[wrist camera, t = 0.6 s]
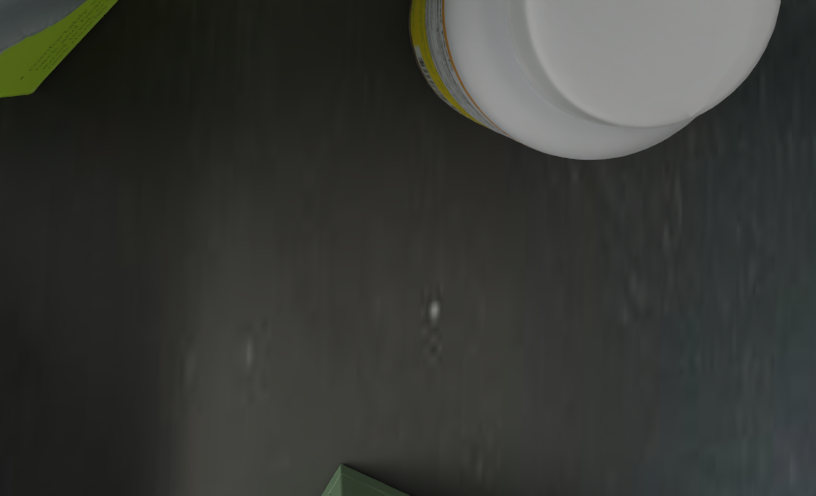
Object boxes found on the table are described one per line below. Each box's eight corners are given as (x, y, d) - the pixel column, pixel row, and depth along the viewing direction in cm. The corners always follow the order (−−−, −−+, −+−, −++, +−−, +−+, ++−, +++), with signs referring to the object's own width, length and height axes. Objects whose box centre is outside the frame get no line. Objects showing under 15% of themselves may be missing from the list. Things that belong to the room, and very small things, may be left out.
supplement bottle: (624, -65, 21) (888, -169, 11) (579, 138, 22) (781, 208, 12) (422, -107, 20) (514, -258, 10) (388, 106, 21) (441, 153, 12)
